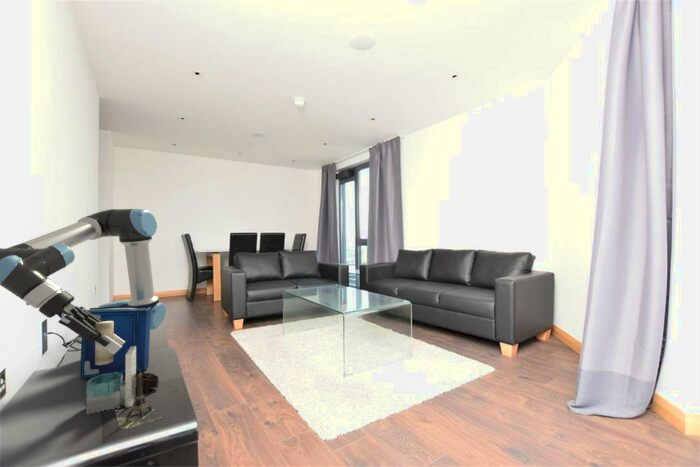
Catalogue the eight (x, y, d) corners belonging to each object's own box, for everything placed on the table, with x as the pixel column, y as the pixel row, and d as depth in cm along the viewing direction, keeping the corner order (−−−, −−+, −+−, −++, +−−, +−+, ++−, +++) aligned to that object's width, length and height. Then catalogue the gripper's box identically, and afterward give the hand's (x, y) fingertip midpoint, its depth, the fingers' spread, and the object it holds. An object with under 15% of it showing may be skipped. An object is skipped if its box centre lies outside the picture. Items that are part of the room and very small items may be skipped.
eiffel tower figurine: (112, 412, 93) (112, 367, 93) (152, 400, 100) (152, 358, 100) (120, 435, 82) (120, 384, 82) (164, 419, 89) (164, 372, 89)
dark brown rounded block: (92, 402, 99) (92, 384, 99) (101, 392, 105) (101, 375, 105) (156, 392, 104) (156, 375, 105) (161, 384, 111) (161, 368, 111)
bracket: (92, 403, 98) (92, 351, 98) (135, 395, 103) (136, 345, 103) (83, 416, 90) (84, 360, 90) (131, 407, 95) (131, 354, 95)
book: (152, 365, 127) (153, 303, 127) (147, 372, 120) (147, 307, 120) (87, 373, 120) (88, 307, 120) (78, 381, 113) (79, 311, 114)
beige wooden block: (97, 361, 97) (97, 322, 97) (114, 358, 99) (115, 320, 99) (93, 366, 93) (93, 325, 93) (111, 363, 95) (111, 323, 95)
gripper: (51, 304, 97) (115, 349, 104) (23, 316, 82) (101, 368, 89) (73, 285, 100) (135, 331, 107) (50, 294, 84) (124, 346, 91)
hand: (119, 347), depth 98 cm, fingers closed on beige wooden block, 4 cm apart
